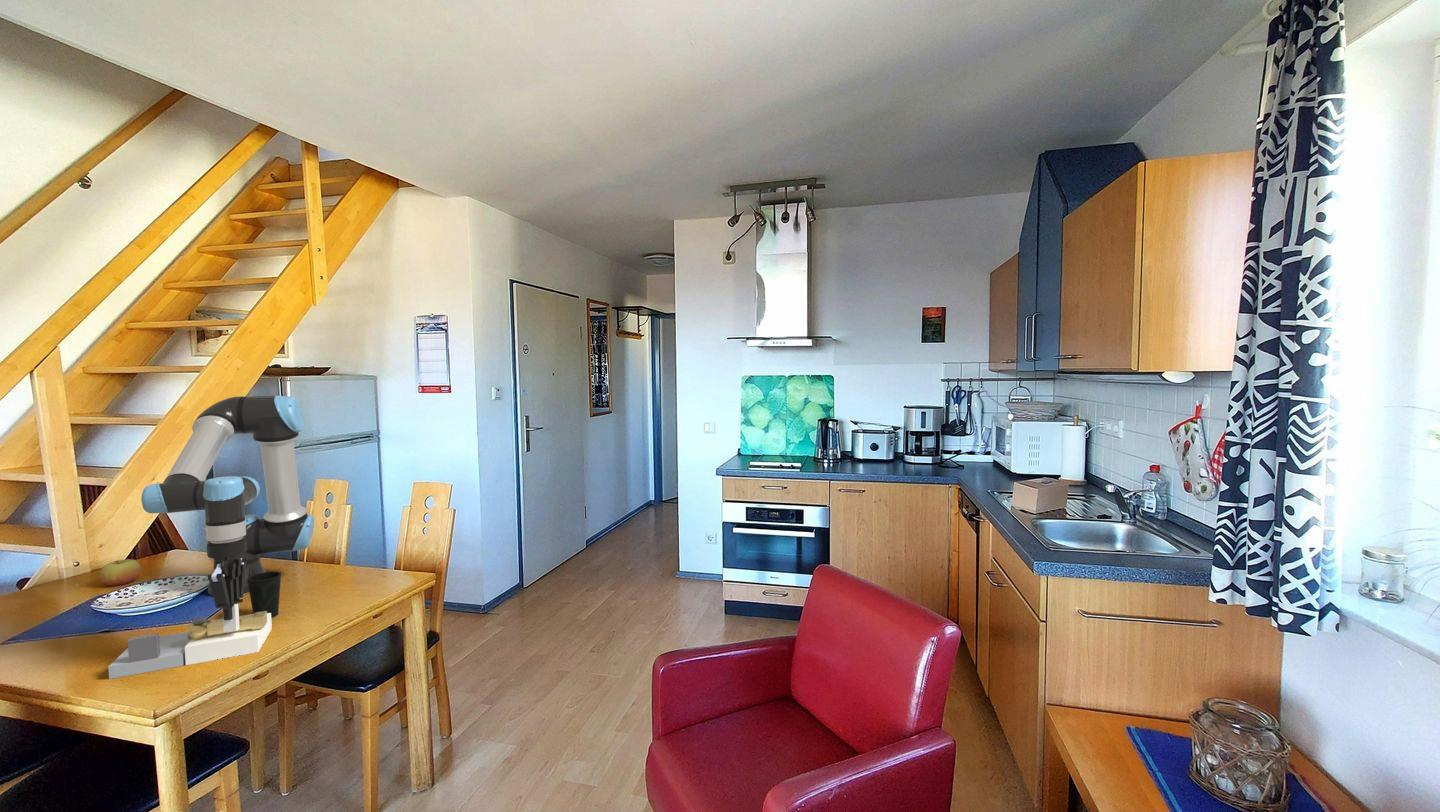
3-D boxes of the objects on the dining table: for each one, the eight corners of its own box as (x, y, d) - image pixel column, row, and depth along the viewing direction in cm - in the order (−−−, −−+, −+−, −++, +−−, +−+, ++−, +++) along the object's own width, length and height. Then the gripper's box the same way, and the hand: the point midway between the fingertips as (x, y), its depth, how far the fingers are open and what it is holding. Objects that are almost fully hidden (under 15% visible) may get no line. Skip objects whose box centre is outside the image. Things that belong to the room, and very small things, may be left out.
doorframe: (137, 650, 146) (135, 616, 145) (271, 628, 158) (270, 596, 158) (109, 679, 132) (106, 641, 132) (258, 652, 145) (256, 617, 144)
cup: (264, 623, 162) (262, 581, 161) (242, 620, 163) (240, 579, 162) (289, 611, 169) (287, 572, 168) (268, 609, 171) (266, 570, 170)
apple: (97, 584, 190) (95, 561, 190) (138, 575, 198) (136, 553, 198) (103, 591, 185) (101, 566, 184) (145, 581, 193) (143, 558, 192)
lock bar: (191, 633, 144) (190, 622, 144) (267, 621, 151) (266, 610, 151) (184, 641, 140) (184, 629, 140) (263, 628, 148) (262, 616, 147)
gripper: (223, 532, 148) (228, 621, 149) (192, 548, 135) (197, 644, 137) (257, 530, 150) (262, 617, 151) (229, 545, 137) (235, 640, 139)
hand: (231, 630), depth 144 cm, fingers closed
